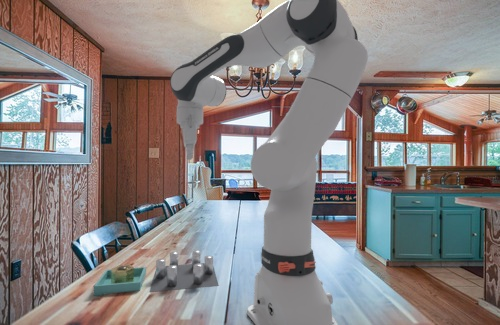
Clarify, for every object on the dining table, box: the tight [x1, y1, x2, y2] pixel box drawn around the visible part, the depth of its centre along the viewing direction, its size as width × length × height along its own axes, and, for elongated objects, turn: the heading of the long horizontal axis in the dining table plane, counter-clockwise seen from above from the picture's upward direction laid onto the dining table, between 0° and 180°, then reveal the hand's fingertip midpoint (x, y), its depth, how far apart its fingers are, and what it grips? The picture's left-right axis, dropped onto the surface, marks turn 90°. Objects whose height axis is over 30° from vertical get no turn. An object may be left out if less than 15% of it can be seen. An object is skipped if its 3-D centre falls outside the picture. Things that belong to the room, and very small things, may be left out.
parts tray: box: [93, 266, 147, 297], centre depth 75 cm, size 11×11×2 cm
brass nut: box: [110, 264, 135, 284], centre depth 75 cm, size 6×5×4 cm
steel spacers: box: [155, 249, 214, 287], centre depth 80 cm, size 15×17×5 cm
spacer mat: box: [149, 262, 220, 293], centre depth 80 cm, size 18×18×1 cm
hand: (189, 159), depth 91 cm, fingers open, 8 cm apart
